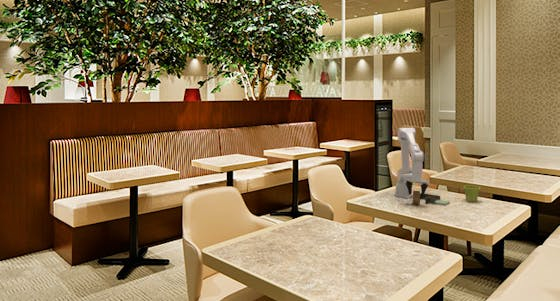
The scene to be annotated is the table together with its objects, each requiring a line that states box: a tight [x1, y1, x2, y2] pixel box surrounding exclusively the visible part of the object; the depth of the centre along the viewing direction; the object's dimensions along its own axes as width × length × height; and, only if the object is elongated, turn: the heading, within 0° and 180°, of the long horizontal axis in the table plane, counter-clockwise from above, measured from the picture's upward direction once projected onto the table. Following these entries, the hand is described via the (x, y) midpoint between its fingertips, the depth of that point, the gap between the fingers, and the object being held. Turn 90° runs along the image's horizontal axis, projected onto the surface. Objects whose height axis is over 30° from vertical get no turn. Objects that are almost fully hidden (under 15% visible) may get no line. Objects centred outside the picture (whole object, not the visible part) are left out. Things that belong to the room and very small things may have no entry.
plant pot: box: [463, 185, 481, 203], centre depth 260 cm, size 9×9×9 cm
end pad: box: [434, 199, 451, 206], centre depth 255 cm, size 7×7×1 cm
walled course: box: [420, 192, 441, 205], centre depth 260 cm, size 12×11×4 cm
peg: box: [412, 190, 421, 206], centre depth 253 cm, size 4×4×8 cm
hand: (416, 195), depth 253 cm, fingers open, 7 cm apart
